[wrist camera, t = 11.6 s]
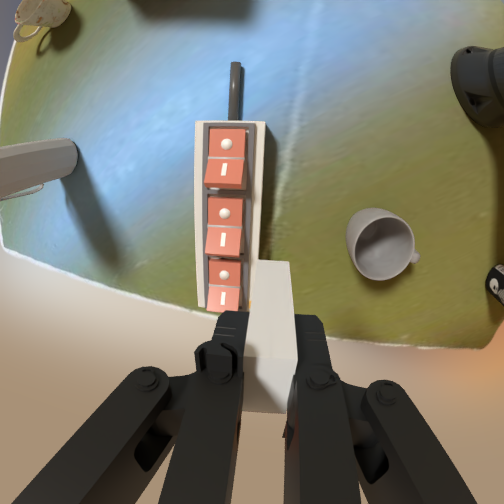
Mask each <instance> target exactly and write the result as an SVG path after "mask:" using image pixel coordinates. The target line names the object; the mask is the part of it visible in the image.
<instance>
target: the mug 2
mask: <svg viewBox="0 0 504 504" xmlns="http://www.w3.org/2000/svg"><path fill="white" fill-rule="evenodd" d="M346 244H347V249H348V252H349V255H350V257H351V259H352V261H353V263H354V265H355V266H356V268H357V269H358V271H359V272H360V273H361V274H362V275H364V276H365V277H367V278H369V279H372V280H387V279H390V278H393V277H395V276H397V275H398V274H399V273H401V272H402V271H403V270H404V269H405V268H406V267H407V265H408V264H409V262H411V263H414V264H416V263H417V262H418V261H419V259H420V254H419V253H418V252H417V251H416V250H415V249H414V247H415V241H414V235H413V232H412V230H411V228H410V226H409V225H408V224H407V223H406V222H405V221H404V220H403V219H402V218H400V217H399V216H397V215H395V214H393V213H392V212H389V211H387V210H384V209H380V208H367V209H363V210H361V211H358V212H357V213H355V214H354V215H353V216H352V217H351V219H350V221H349V223H348V226H347V229H346Z"/></svg>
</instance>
